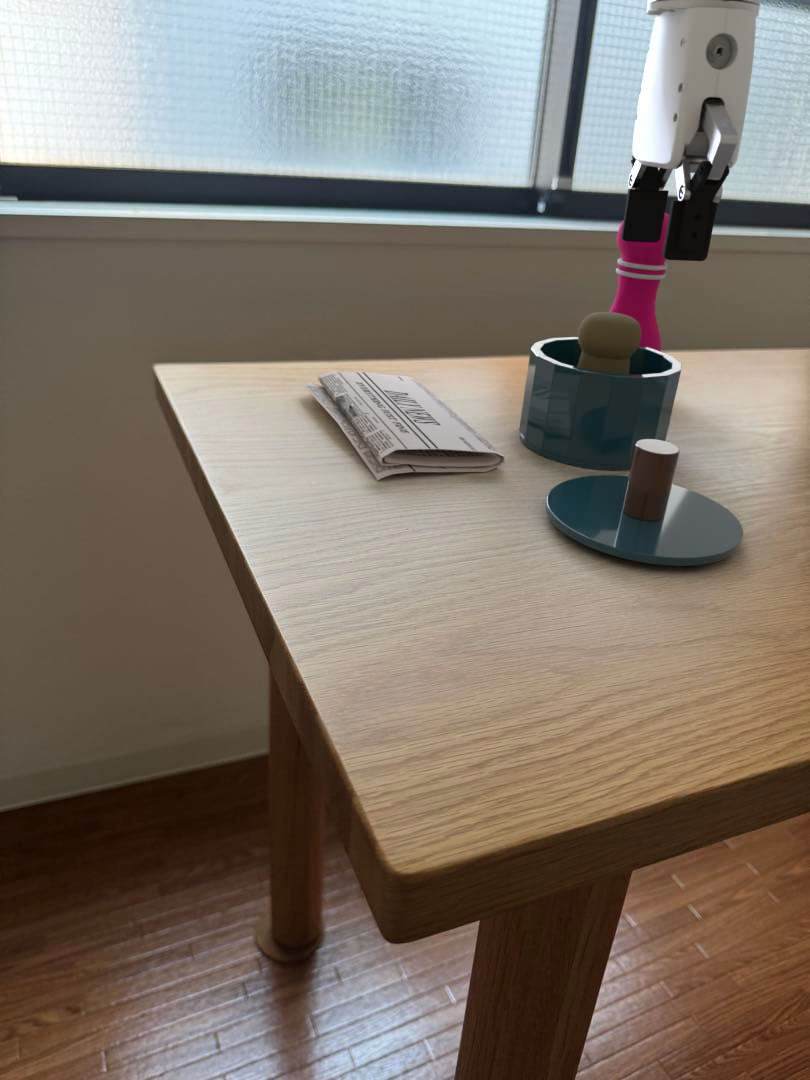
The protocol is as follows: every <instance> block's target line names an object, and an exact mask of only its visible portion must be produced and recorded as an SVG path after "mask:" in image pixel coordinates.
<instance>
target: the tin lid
mask: <svg viewBox="0 0 810 1080" xmlns="http://www.w3.org/2000/svg"><path fill="white" fill-rule="evenodd" d="M680 453H681V449H680V448H679V446H677V445H676V444H674V443H672V442H669V441H666V440H665V441H662V440H656V439H642V440H638V441H637V442H636V443H635V448H634V452H633V457H632V462H631V467H630V470H628V475H621V474H596V475H595V474H593V475H584V476H579V477H578V476H577V477H574V478H571V479H567V480H564V481H561V482H560V483H557V485H555V486H553V488H551V489H550V491H549V492H548V494H547V497H546V501H545V511H546V515H547V517H548V518H549V520H550V521H551V523H552V524H553V525H554V526H555V527H556V528H557V529H558V530H559V531H561V532H562V533H563V534H565V535H566V536H568V537H569V538H571V539H573V541H576V542H578V543H580V544H582V545H584V546H586V547H588V548H591V549H593V550H596V551H599V552H601V553H604V554H607V555H610V556H613V557H617V558H621V559H625V560H629V561H632V562H633V561H634V562H639V563H645V564H650V565H651V564H652V565H661V566H671V567H672V566H675V567H683V566H684V567H685V566H687V567H690V566H700V565H701V566H702V565H709V564H712V563H716V562H720V561H723V560H725V559H728V558H730V557H732V555H734V554H736V552H738V551H739V549H740V547H741V545H742V542H743V538H744V529H743V525H742V524H741V522H740V520H739V519H738V518H737V516H736V515H735V514H734V513H732V512H731V511H730V510H729V509H728V508H726V507H725V506H724V505H722V504H721V503H720V502H717V501H715V500H714V499H712V498H709V497H707V496H706V495H704V494H701V493H699V492H696V491H694V490H692V489H689V488H685V487H682V486H680V485H677V484H674V483H673V482H674V478H675V475H676V470H677V466H678V460H679V457H680Z"/></svg>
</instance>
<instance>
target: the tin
mask: <svg viewBox="0 0 810 1080" xmlns="http://www.w3.org/2000/svg"><path fill="white" fill-rule="evenodd" d="M581 353H582V349H581V347H580V345H579V342H578V336H568V337H551V338H547V339H543V340H540V341H536V342H535V343H534V344H532V346H531V348H530V352H529V358H528V366H527V373H526V380H525V387H524V394H523V401H522V408H521V415H520V422H519V430H518V431H519V439H520V441H521V442H522V444H523V445H525V447H527V448H528V449H529V450H531V451H532V452H534V453H536V454H538V455H540V456H542V457H544V458H547V459H549V460H553V461H556V462H559V463H561V464H565V465H570V466H574V467H578V468H584V469H592V470H600V471H630V467H631V462H632V457H633V452H634V448H635V443H636V442H637V441H638V440H642V439H656V440H662V441H666V440H667V436H668V431H669V428H670V427H669V426H670V422H671V418H672V413H673V409H674V405H675V400H676V396H677V391H678V387H679V382H680V378H681V374H682V366H683V363H681V362H680V361H678V360H677V359H676V358H674V357H673V356H672V355H670V354H667V353H665V352H662V351H661V352H660V351H657V350H654V349H652V348H648V347H644V346H638V348H637V350H636V352H635V353H634V354H633V355H632V356H631V357H630V368H629V374H613V373H606V372H600V371H593V370H586V369H582V368H578V367H577V366H578V362H579V359H580V356H581Z"/></svg>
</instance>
